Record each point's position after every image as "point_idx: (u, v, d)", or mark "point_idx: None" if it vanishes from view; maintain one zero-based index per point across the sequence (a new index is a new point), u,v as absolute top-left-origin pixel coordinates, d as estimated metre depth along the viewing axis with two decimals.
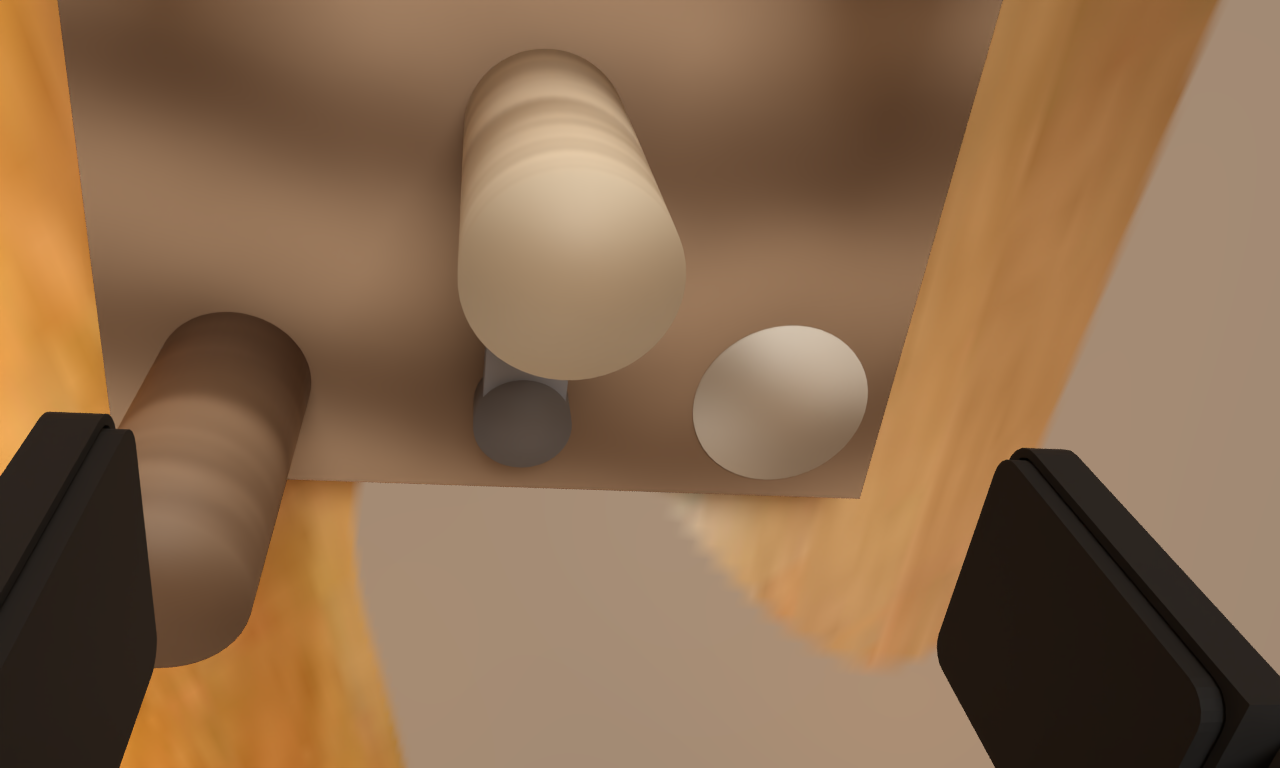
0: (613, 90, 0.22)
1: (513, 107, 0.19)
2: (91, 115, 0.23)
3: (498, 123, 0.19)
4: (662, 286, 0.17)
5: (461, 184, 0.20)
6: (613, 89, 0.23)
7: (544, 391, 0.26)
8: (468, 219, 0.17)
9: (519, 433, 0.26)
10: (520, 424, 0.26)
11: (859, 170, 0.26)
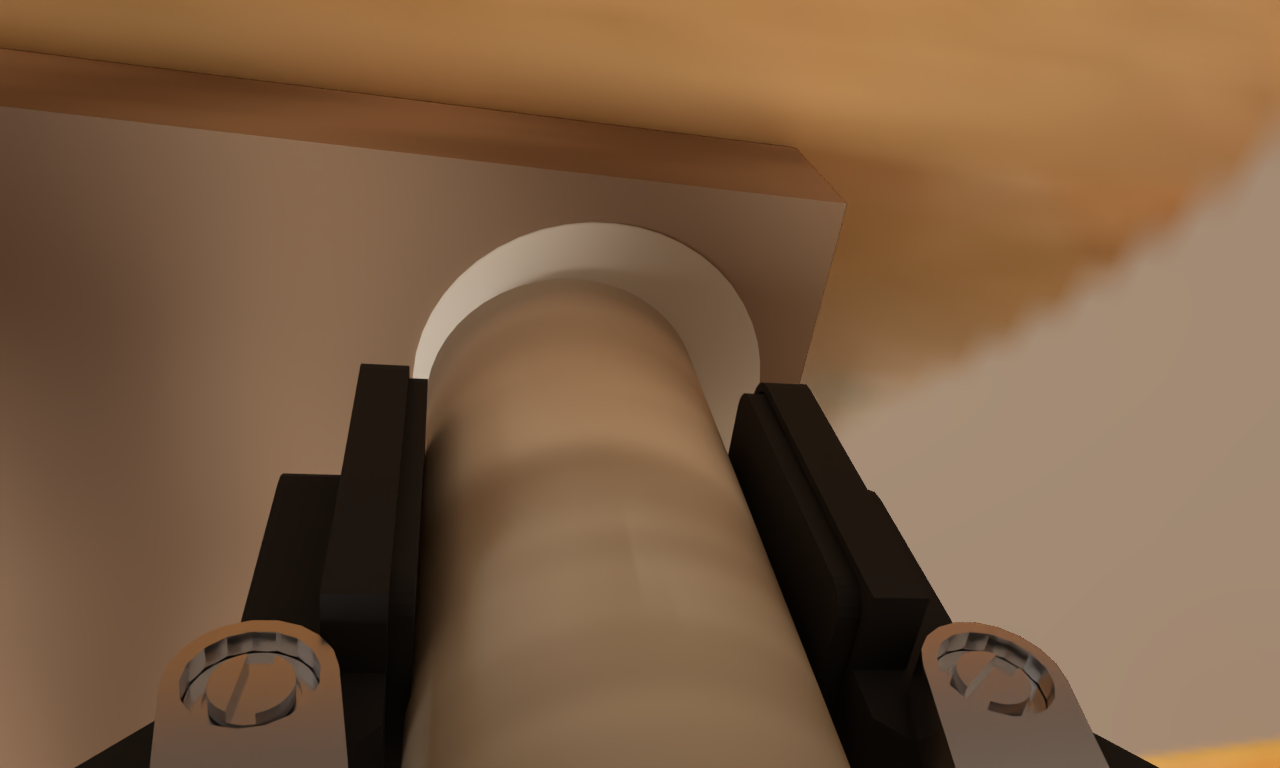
0: (679, 352, 0.13)
1: (506, 468, 0.10)
2: None
3: (477, 512, 0.10)
4: None
5: None
6: (677, 347, 0.13)
7: None
8: None
9: None
10: None
11: (67, 302, 0.13)
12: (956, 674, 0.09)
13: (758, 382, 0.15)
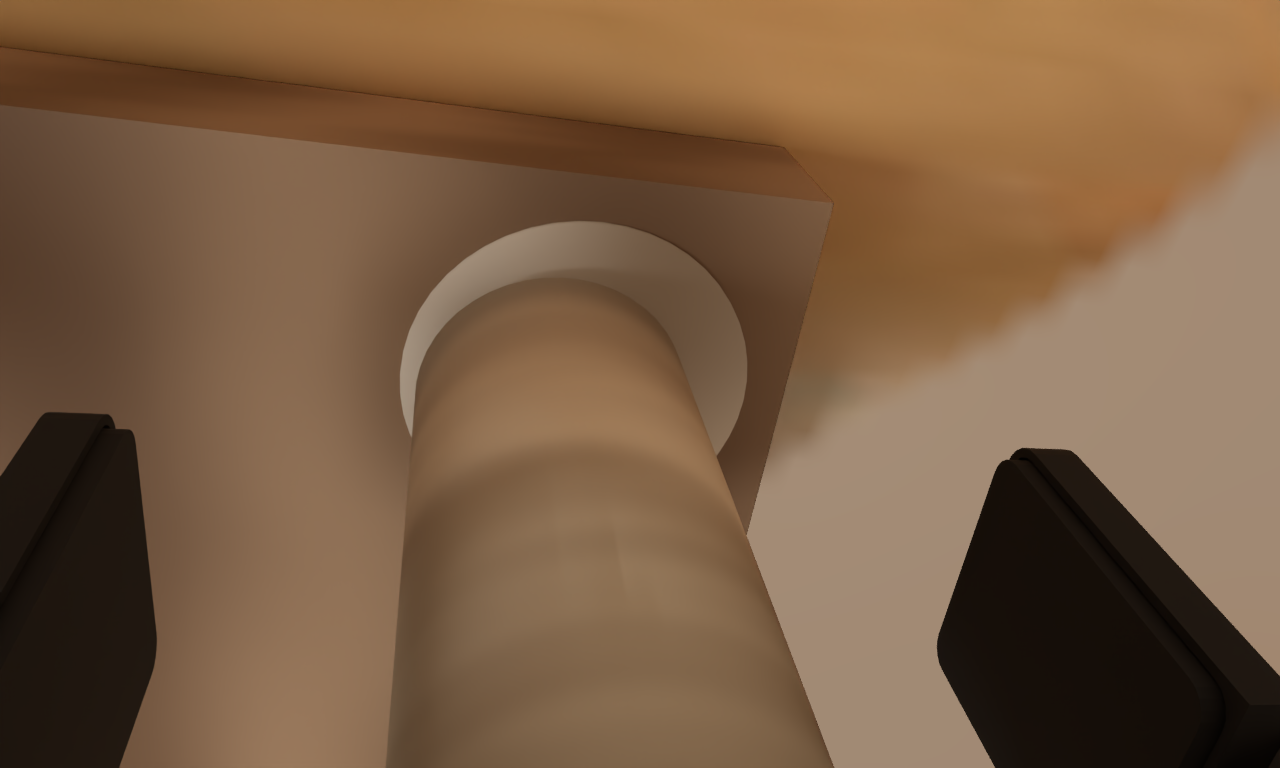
0: (667, 351, 0.13)
1: (493, 466, 0.10)
2: None
3: (464, 509, 0.10)
4: None
5: None
6: (666, 346, 0.13)
7: None
8: None
9: None
10: None
11: (53, 299, 0.13)
12: None
13: (745, 381, 0.15)
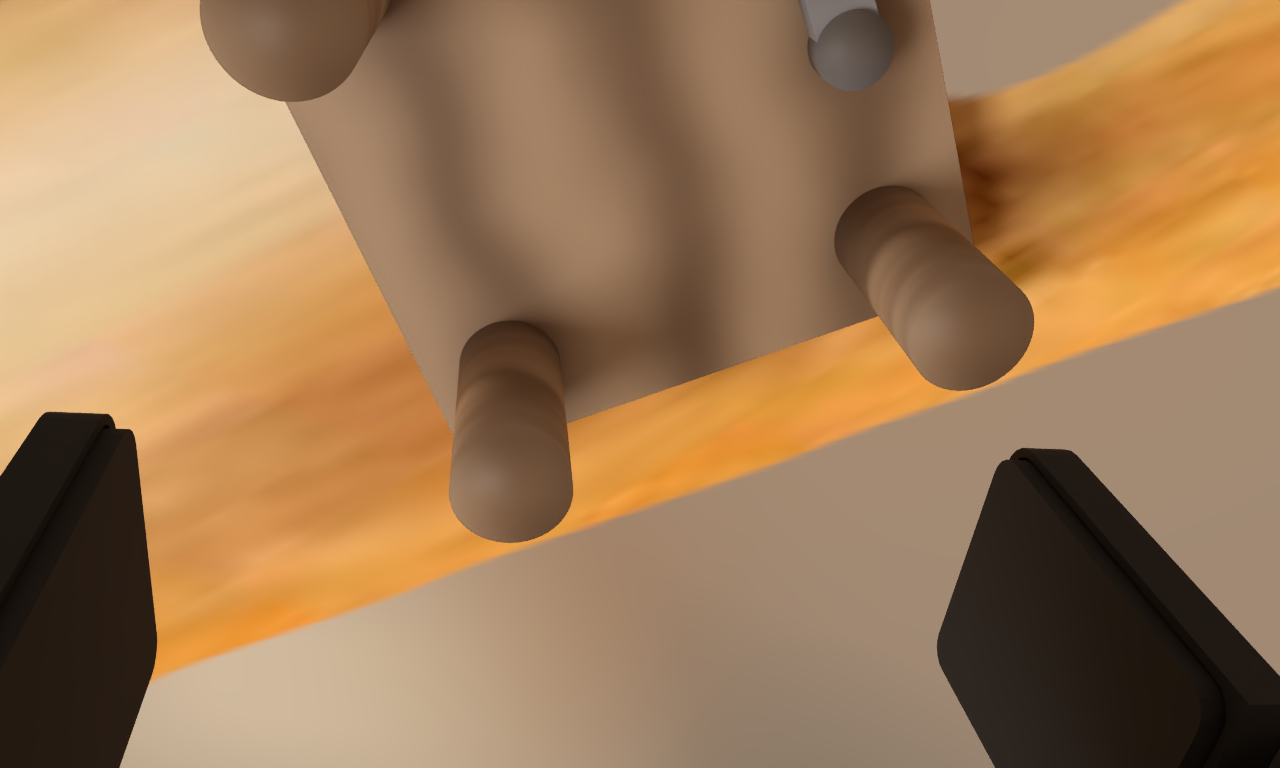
0: None
1: None
2: (734, 355, 0.39)
3: None
4: None
5: None
6: None
7: (860, 13, 0.32)
8: None
9: (855, 58, 0.32)
10: (853, 50, 0.32)
11: None
12: None
13: None
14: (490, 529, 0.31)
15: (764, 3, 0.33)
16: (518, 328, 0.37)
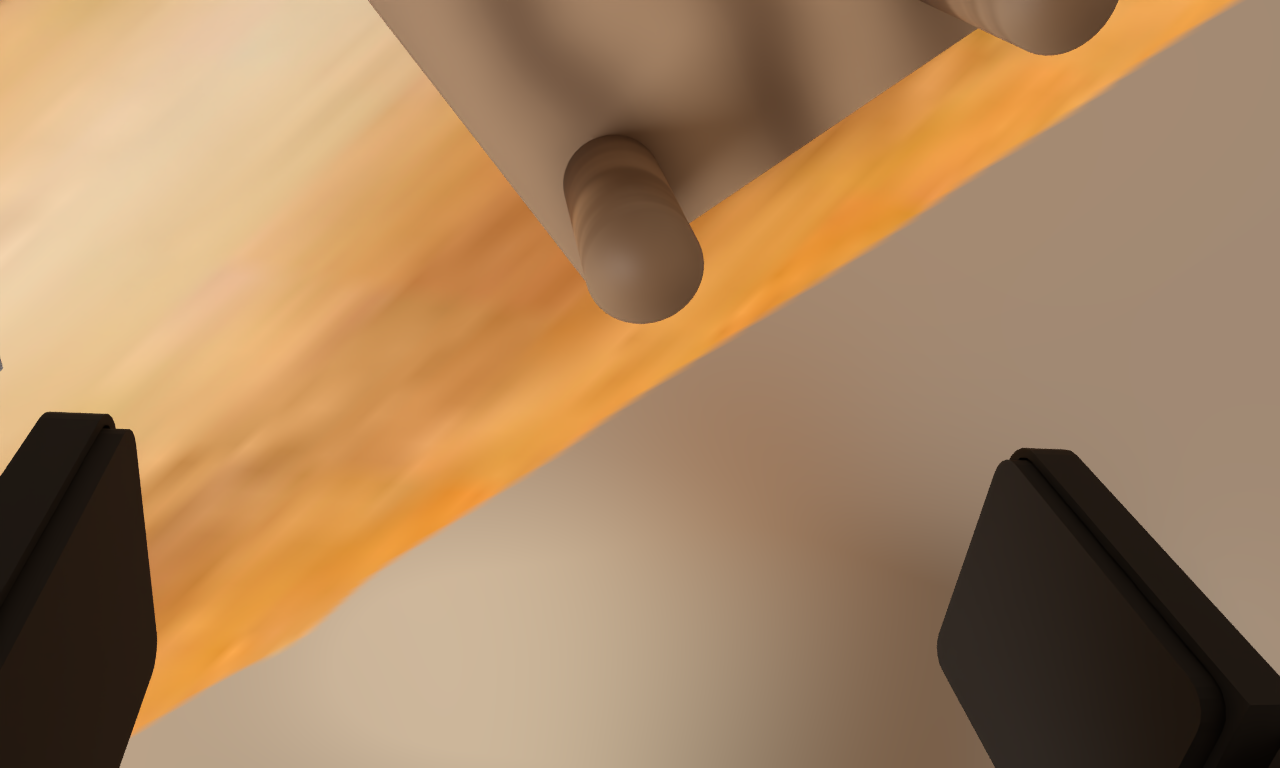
0: None
1: None
2: (826, 118, 0.39)
3: None
4: None
5: None
6: None
7: None
8: None
9: None
10: None
11: None
12: None
13: None
14: (633, 312, 0.32)
15: None
16: (611, 139, 0.37)
